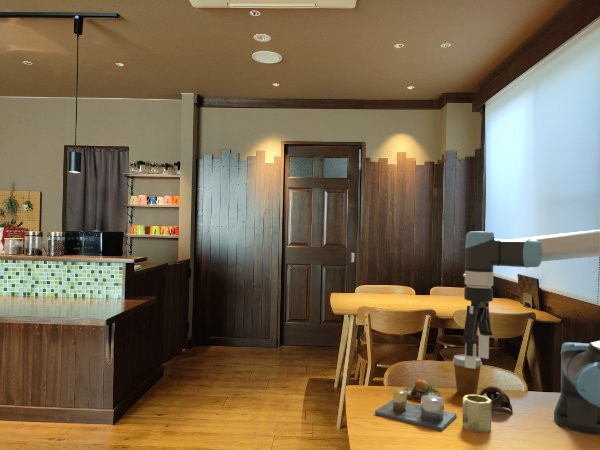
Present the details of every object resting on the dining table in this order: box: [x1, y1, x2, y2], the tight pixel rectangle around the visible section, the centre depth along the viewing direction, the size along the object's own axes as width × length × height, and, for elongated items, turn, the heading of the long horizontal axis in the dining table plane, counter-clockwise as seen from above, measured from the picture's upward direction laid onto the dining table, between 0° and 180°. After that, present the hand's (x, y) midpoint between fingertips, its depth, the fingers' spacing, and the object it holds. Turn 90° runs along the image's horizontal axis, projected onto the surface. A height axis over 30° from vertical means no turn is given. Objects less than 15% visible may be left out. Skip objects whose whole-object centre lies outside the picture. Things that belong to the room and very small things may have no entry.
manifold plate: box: [374, 389, 457, 432], centre depth 144 cm, size 20×13×6 cm, turn 55°
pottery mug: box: [477, 385, 514, 414], centre depth 150 cm, size 12×10×8 cm
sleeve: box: [461, 394, 492, 434], centre depth 135 cm, size 7×7×8 cm
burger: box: [403, 378, 441, 403], centre depth 161 cm, size 12×12×8 cm
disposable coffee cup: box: [452, 354, 483, 396], centre depth 166 cm, size 10×10×12 cm
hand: (477, 362), depth 136 cm, fingers open, 13 cm apart
